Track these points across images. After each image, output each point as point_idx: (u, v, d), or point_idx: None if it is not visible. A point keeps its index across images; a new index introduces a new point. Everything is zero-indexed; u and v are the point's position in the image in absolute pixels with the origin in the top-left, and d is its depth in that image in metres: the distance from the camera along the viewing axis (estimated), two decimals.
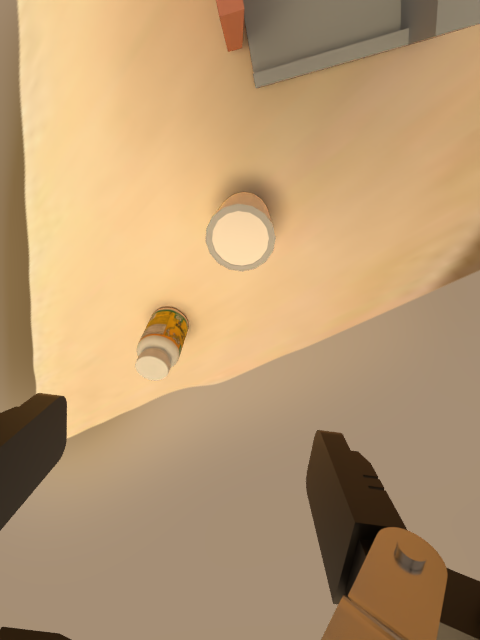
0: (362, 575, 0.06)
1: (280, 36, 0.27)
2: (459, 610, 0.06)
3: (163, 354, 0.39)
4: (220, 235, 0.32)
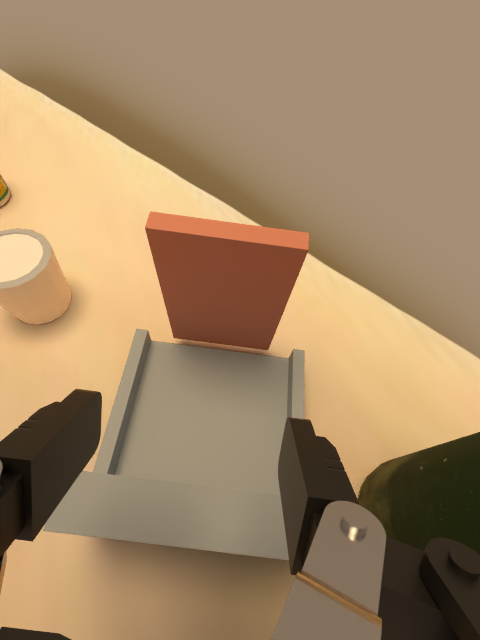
0: (313, 550, 0.06)
1: (165, 369, 0.30)
2: (396, 573, 0.06)
3: None
4: (27, 243, 0.30)
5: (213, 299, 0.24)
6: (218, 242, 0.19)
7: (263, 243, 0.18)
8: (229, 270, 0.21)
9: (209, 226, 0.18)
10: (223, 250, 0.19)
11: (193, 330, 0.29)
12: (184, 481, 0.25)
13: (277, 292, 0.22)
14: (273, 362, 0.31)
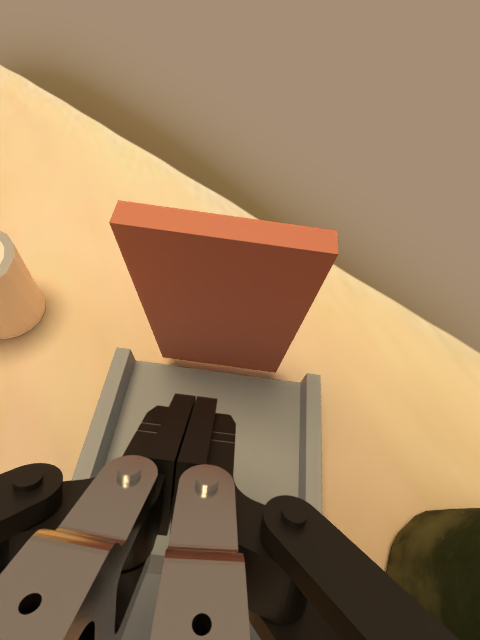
0: (175, 522, 0.06)
1: (151, 396, 0.25)
2: (237, 526, 0.07)
3: None
4: None
5: (208, 315, 0.19)
6: (212, 243, 0.13)
7: (275, 244, 0.13)
8: (228, 280, 0.16)
9: (199, 221, 0.13)
10: (219, 254, 0.14)
11: (185, 349, 0.24)
12: None
13: (290, 309, 0.17)
14: (282, 387, 0.26)
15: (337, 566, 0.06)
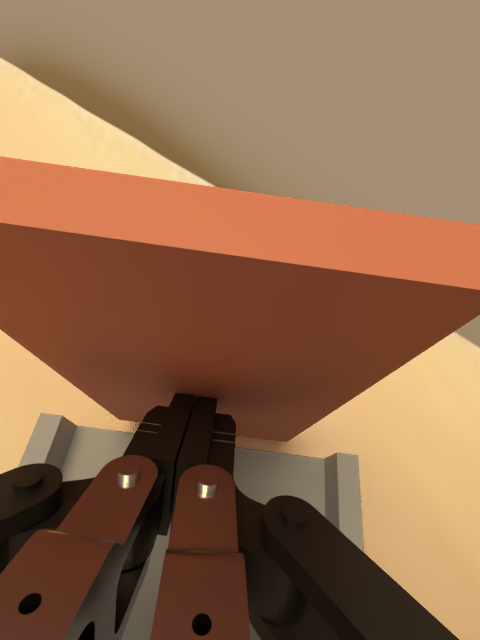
0: (175, 522, 0.06)
1: None
2: (238, 526, 0.07)
3: None
4: None
5: (173, 384, 0.10)
6: (143, 260, 0.05)
7: (325, 266, 0.04)
8: (200, 339, 0.07)
9: (107, 197, 0.05)
10: (170, 287, 0.05)
11: None
12: None
13: (330, 385, 0.09)
14: (297, 467, 0.17)
15: (337, 566, 0.06)
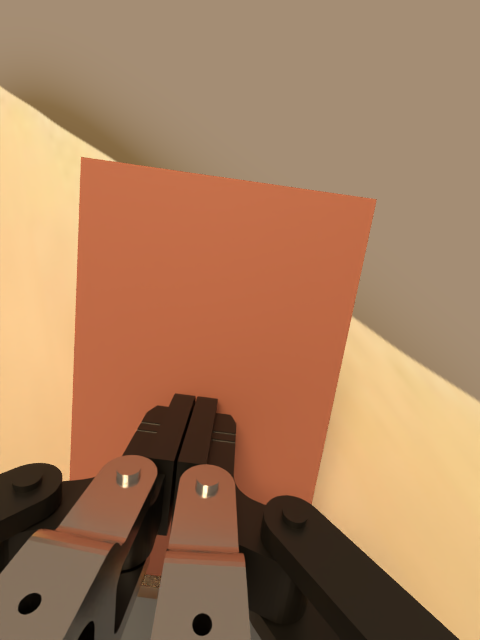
0: (176, 522, 0.06)
1: None
2: (238, 526, 0.07)
3: None
4: None
5: (182, 382, 0.11)
6: (212, 190, 0.10)
7: None
8: (225, 275, 0.11)
9: None
10: (219, 212, 0.10)
11: None
12: None
13: (317, 344, 0.11)
14: None
15: (337, 566, 0.06)
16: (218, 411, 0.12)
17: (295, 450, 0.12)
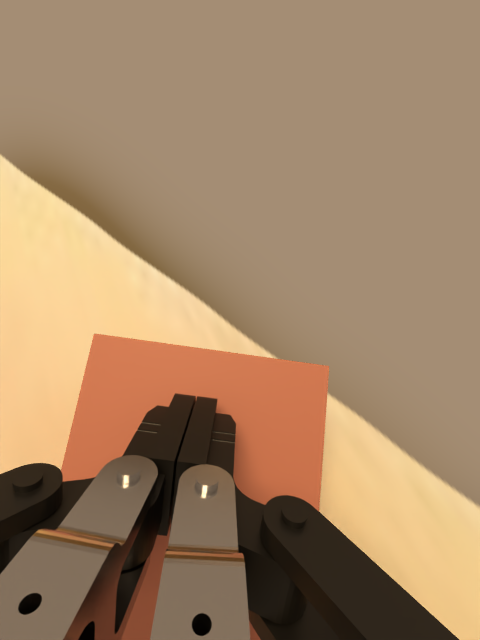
0: (175, 522, 0.06)
1: None
2: (237, 526, 0.07)
3: None
4: None
5: (159, 547, 0.11)
6: (198, 359, 0.13)
7: (264, 357, 0.13)
8: None
9: None
10: (203, 375, 0.12)
11: None
12: None
13: None
14: None
15: (337, 566, 0.06)
16: None
17: None
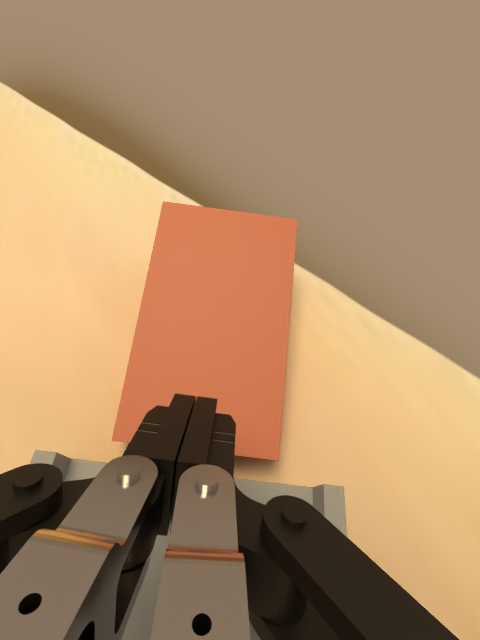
0: (175, 522, 0.06)
1: None
2: (237, 526, 0.07)
3: None
4: None
5: (204, 304, 0.20)
6: (222, 215, 0.22)
7: None
8: (228, 250, 0.21)
9: None
10: (226, 223, 0.22)
11: (157, 401, 0.18)
12: None
13: (278, 283, 0.21)
14: None
15: (337, 566, 0.06)
16: (225, 320, 0.20)
17: (271, 345, 0.20)
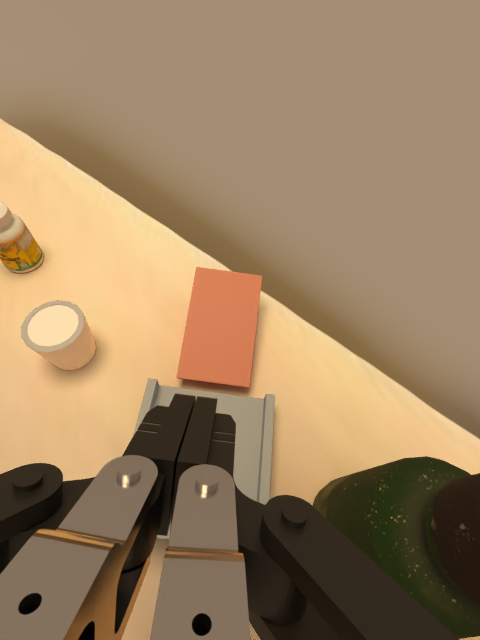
0: (175, 522, 0.06)
1: None
2: (238, 526, 0.07)
3: None
4: (66, 313, 0.39)
5: (216, 317, 0.43)
6: (225, 273, 0.45)
7: None
8: (228, 291, 0.44)
9: None
10: (227, 278, 0.45)
11: (196, 361, 0.41)
12: None
13: (251, 307, 0.44)
14: (252, 402, 0.41)
15: (337, 566, 0.06)
16: (226, 325, 0.43)
17: (247, 336, 0.43)
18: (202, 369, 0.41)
